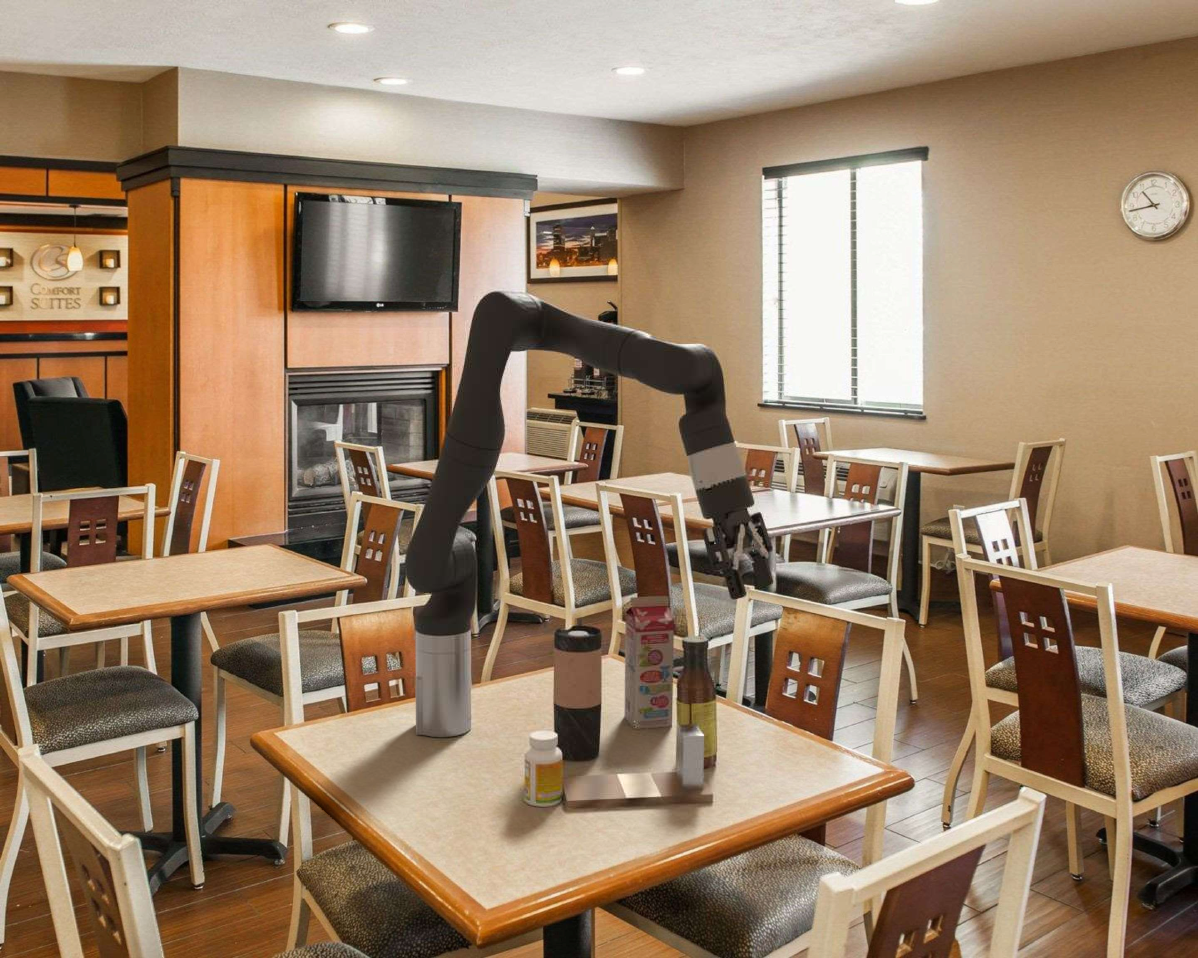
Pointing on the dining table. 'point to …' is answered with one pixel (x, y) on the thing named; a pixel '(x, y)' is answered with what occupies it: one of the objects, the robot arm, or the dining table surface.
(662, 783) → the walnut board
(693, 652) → the sauce bottle
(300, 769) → the dining table surface
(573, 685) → the travel mug
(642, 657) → the juice carton
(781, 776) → the dining table surface
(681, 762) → the silver rectangular block
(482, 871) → the dining table surface
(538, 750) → the supplement bottle
